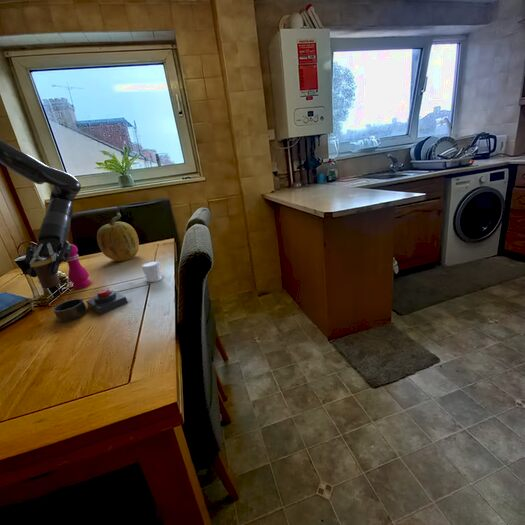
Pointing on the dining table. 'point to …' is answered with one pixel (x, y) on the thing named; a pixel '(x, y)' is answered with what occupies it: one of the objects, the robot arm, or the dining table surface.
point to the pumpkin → (118, 240)
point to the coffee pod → (45, 273)
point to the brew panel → (106, 302)
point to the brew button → (103, 293)
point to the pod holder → (70, 310)
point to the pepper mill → (77, 270)
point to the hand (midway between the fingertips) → (42, 275)
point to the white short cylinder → (152, 271)
